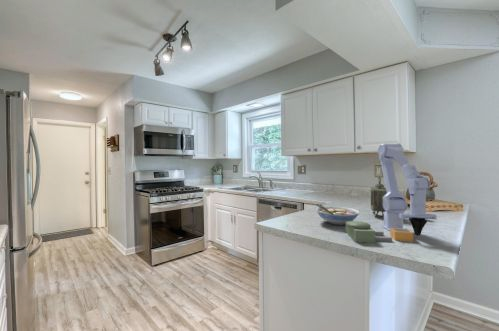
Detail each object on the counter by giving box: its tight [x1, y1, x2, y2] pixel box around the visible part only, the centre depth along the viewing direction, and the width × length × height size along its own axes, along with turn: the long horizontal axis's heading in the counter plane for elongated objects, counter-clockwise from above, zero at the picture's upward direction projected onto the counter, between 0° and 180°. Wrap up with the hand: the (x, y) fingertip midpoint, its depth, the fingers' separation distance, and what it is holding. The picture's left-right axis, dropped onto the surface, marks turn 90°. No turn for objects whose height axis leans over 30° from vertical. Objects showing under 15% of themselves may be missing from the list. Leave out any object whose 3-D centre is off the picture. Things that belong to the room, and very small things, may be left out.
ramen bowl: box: [315, 204, 360, 226], centre depth 134 cm, size 25×23×8 cm
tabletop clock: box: [370, 176, 387, 218], centre depth 151 cm, size 14×9×25 cm, turn 159°
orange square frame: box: [389, 228, 414, 242], centre depth 108 cm, size 6×7×4 cm
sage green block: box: [345, 220, 393, 244], centre depth 110 cm, size 15×18×6 cm
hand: (417, 234), depth 107 cm, fingers closed
